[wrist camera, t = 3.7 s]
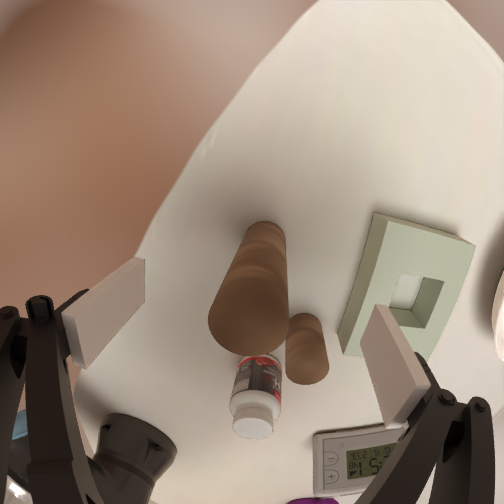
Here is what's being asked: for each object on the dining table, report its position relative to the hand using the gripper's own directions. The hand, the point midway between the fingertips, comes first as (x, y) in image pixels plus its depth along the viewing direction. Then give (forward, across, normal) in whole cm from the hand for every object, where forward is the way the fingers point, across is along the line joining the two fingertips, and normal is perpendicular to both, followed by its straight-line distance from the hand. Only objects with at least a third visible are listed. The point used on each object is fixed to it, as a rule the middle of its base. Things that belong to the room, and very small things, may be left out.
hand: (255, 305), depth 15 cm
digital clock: (+14, +21, -29) cm, 38 cm away
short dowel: (+13, +6, -9) cm, 17 cm away
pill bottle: (+13, +2, -16) cm, 21 cm away
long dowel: (+13, 0, 0) cm, 13 cm away
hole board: (+13, +15, -2) cm, 20 cm away
